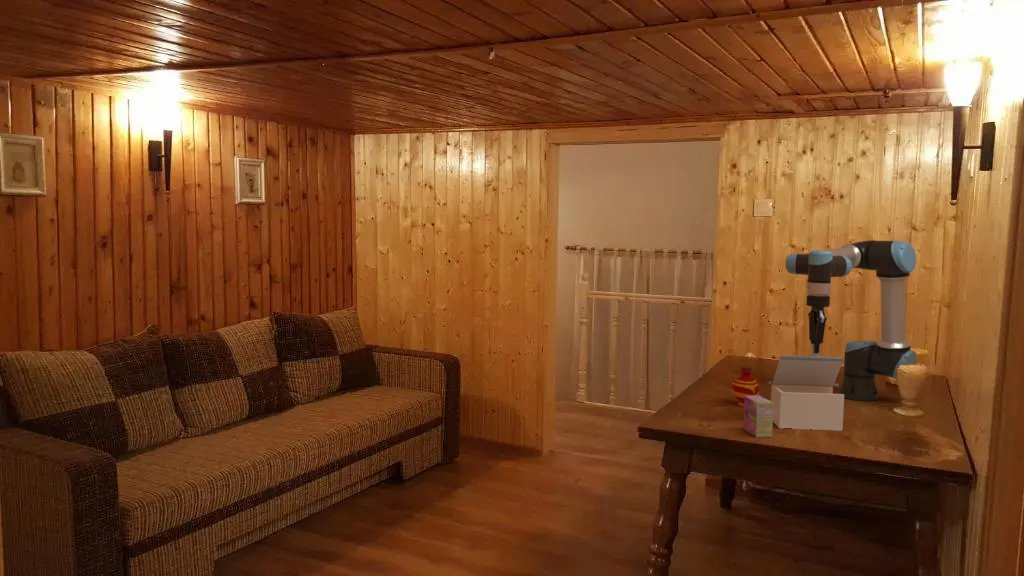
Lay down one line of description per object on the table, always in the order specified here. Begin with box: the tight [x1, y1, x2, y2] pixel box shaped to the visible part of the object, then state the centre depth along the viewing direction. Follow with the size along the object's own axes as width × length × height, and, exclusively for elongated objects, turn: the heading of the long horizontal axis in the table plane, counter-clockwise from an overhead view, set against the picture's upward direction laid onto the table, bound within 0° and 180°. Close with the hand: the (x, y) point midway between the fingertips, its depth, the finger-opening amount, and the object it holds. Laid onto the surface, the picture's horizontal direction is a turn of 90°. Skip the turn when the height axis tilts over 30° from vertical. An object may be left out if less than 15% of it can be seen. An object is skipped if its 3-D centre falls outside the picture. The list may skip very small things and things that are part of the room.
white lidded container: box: [767, 380, 845, 432], centre depth 268 cm, size 24×14×14 cm, turn 85°
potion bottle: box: [730, 365, 760, 408], centre depth 295 cm, size 10×10×15 cm
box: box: [743, 395, 774, 438], centre depth 256 cm, size 10×6×12 cm, turn 5°
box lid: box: [772, 354, 845, 387], centre depth 269 cm, size 21×14×1 cm
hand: (814, 361), depth 267 cm, fingers closed
